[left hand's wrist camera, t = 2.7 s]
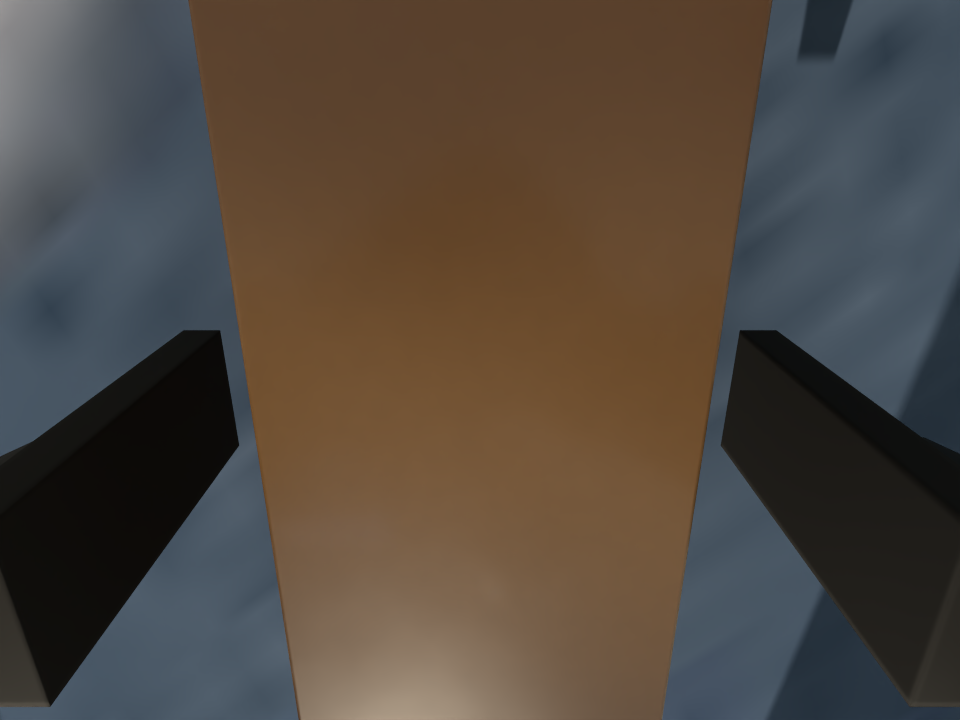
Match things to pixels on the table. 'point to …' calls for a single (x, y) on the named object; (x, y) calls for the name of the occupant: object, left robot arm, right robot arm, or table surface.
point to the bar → (480, 331)
